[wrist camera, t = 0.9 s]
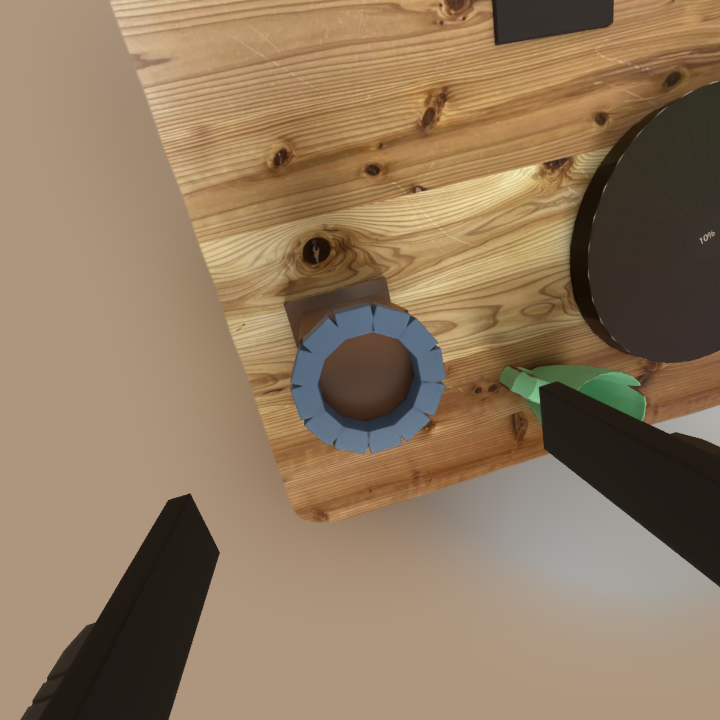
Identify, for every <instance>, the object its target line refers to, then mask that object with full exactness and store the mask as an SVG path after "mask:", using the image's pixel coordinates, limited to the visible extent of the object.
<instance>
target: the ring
mask: <svg viewBox="0 0 720 720" xmlns="http://www.w3.org/2000/svg"><path fill="white" fill-rule="evenodd" d="M333 315H334V318H335V321H334V320H333V319H332V318H331V317H330V316H329V315H328V314H326V315H325V316H324V317H323V318H322V319H321V320H320V321H319V322H318V323H317V324H316V325H315V326H314V327H313V328H312V329H311V330H310V331H309V332H308V333H307V334H306V335H305V336H304V337H303V342H302V344H299V348H298V351H297V355H296V359H295V363H294V367H293V371H292V376H291V383H292V384H291V393H292V396H293V399H294V402H295V405H296V408H297V411H298V414H299V417H300V420H304V426H305V427H306V428H308V429H309V430H310V431H311V432H312V433H314V434H315V435H316V436H317V437H318V438H320V439H321V440H322V441H323V442H324V443H326V444H327V445H328V446H329V445H330V444H331V443H332V442H333V444H334V448H335V449H341V450H346V451H351V452H357V453H362V454H365V453H366V450H367V447H368V446H369V449H370V452H371V453H375V452H379V451H382V450H385V449H389V448H392V447H396V446H399V445H402V442H401V437H400V435H401V436H402V437H403V438H404V439H405V440H406V441H408V440H409V439H411V438H412V437H413V436H414V435H415V434H416V433H417V432H418V431H419V430H420V429H421V428H423V427H424V426H425V425H426V424H427V423H428V422H429V421H430V418H429V417H428V415H427V414H432V415H435V412H436V409H437V407H438V404H439V401H440V398H441V396H442V393H443V390H444V388H445V385H444V384H443V383H442V382H441V381H442V380H445V379H446V377H445V371H444V365H443V359H442V353H441V348H440V347H438V346H436V344H437V343H438V342H437V341H436V340H435V338H434V337H433V336H432V335H431V334H430V333H429V332H428V331H427V330H426V328H425V327H424V326H423V325H422V324H421V323H420V322H419V321H418V319H417V318H415V317H413V316H411V315H410V314H408V313H406V312H404V311H402V310H398V309H395V308H391V307H388V306H384V305H381V304H377V303H374V302H373V303H372V304H371V306H370V305H369V304H368V303H366V302H364V303H360V304H356V305H352V306H349V307H345V308H341V309H337V310H334V311H333ZM372 332H373V333H377V334H381V335H385V336H388V337H392V338H396V339H398V340H399V341H400V342H401V344H402V345H403V346H404V347H405V348H406V349H407V350H408V351H409V352H410V357H411V362H412V367H413V372H414V377H413V380H412V383H411V386H410V389H409V392H408V395H407V397H406V399H405V400H404V401H403V402H402V403H401V404H399V405H398V406H397V407H396V408H395V409H394V410H393V411H392V412H391V413H390V414H388V415H385V416H382V417H378V418H375V419H371V420H368V421H362V420H357V419H352V418H347V417H342V416H341V415H340V414H339V413H337V412H336V411H335V410H334V409H333V408H332V407H331V406H330V405H328V404H327V403H326V402H325V401H324V399H323V396H322V392H321V389H320V386H319V379H320V375H321V371H322V368H323V364H324V360H325V359H326V358H327V357H328V356H329V355H330V354H331V353H332V352H333V351H334V350H335V349H336V348H337V347H338V346H339V345H340V344H341V343H342V342H343V341H344V340H346V339H349V338H353V337H357V336H360V335H364V334H368V333H372ZM426 413H427V414H426Z"/></svg>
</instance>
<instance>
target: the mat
mask: <svg viewBox="0 0 720 720" xmlns="http://www.w3.org/2000/svg"><path fill="white" fill-rule="evenodd" d="M613 5H614V0H493V13H494V28H495V44H496V45H499V44H505V43H511V42H517V41H523V40H529V39H535V38H541V37H547V36H554V35H560V34H566V33H572V32H578V31H584V30H590V29H596V28H602V27H608V26H609V25H611V24H612V23H613Z"/></svg>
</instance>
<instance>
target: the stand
mask: <svg viewBox="0 0 720 720" xmlns="http://www.w3.org/2000/svg"><path fill="white" fill-rule="evenodd" d="M364 302H366V303H368V304H369V305H370V306H371V304H372V303H373V302H374V303H377V304H381V305H384V306H388V307H391V308H395V309H398V310H402V311H404V312H406V313H408V310H406V309H404V308H402V307H400V306H398V305H396V304H394V303H391V302H390V297H389V292H388V287H387V282H386V278H385V277H379V278H375V279H371V280H367V281H363V282H360V283H356V284H352V285H348V286H344V287H340V288H336V289H332V290H328V291H325V292H321V293H317V294H313V295H309V296H305V297H301V298H297V299H294V300H290V301H286V302H284V306H285V309H286V312H287V316H288V319H289V322H290V325H291V329H292V332H293V335H294V338H295V341H296V345H297V348H299V344H302V342H303V337H304V336H305V335H306V334H307V333H308V332H309V331H310V330H311V329H312V328H313V327H314V326H315V325H316V324H317V323H318V322H319V321H320V320H321V319H322V318H323V317H324V316H325V315H326V314H328V315H329V316H330V317H331V318H332V319H333V320H334V321H335V318H334V315H333V311H334V310H337V309H341V308H345V307H349V306H352V305H356V304H360V303H364ZM413 377H414V372H413V367H412V362H411V357H410V352H409V351H408V350H407V349H406V348H405V347H404V346H403V345H402V344H401V342H400V341H399V340H398V339H396V338H392V337H388V336H385V335H381V334H377V333H373V332H372V333H368V334H364V335H360V336H357V337H353V338H349V339H346V340H344V341H343V342H342V343H341V344H340V345H339V346H338V347H337V348H336V349H335V350H334V351H333V352H332V353H331V354H330V355H329V356H328V357H327V358H326V359H325V360H324V364H323V368H322V371H321V375H320V379H319V386H320V389H321V392H322V396H323V399H324V401H325V402H326V403H327V404H328V405H330V406H331V407H332V408H333V409H334V410H335V411H336V412H337V413H339V414H340V415H341V416H342V417H347V418H352V419H357V420H362V421H368V420H371V419H375V418H378V417H382V416H385V415H388V414H390V413H391V412H392V411H393V410H394V409H395V408H396V407H397V406H398V405H399V404H401V403H402V402H403V401H404V400H405V399H406V397H407V395H408V392H409V389H410V386H411V383H412V380H413Z"/></svg>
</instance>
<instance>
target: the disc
mask: <svg viewBox="0 0 720 720" xmlns="http://www.w3.org/2000/svg"><path fill="white" fill-rule="evenodd" d="M571 277H572V283H573V288H574V294H575V298H576V300H577V303H578V305H579V308H580V310H581V313H582V315H583V317H584V319H585V320H586V322H587V323H588V324H589V326H590V327H591V329H592V330H593V332H594V333H595V334H596V335H597V336H599V337H600V338H601V339H602V340H603V341H604V342H606V343H607V344H608V345H609V346H611V347H614V348H616V349H618V350H620V351H622V352H624V353H627V354H630V355H634V356H638V357H641V358H643V359H646V360H651V361H656V362H661V363H677V362H687V361H691V360H695V359H699V358H703V357H706V356H708V355H710V354H712V353H714V352H717V351H719V350H720V81H717V82H712V83H710V84H708V85H705V86H703V87H701V88H698V89H696V90H694V91H691V92H689V93H687V94H685V95H684V96H682V97H681V98H679V99H677V100H675V101H672V102H670V103H667V104H665V105H663V106H660V107H659V108H657V109H656V110H655V111H653V112H652V113H650V114H649V115H647V116H646V117H644V118H643V119H641V120H640V121H638V122H637V123H636V124H635V125H634V126H633V127H632V128H631V129H630V130H629V131H628V132H627V133H626V134H625V135H624V136H623V137H622V138H621V139H620V140H619V141H618V142H617V143H616V144H615V146H614V147H613V148H612V150H611V151H610V152H609V154H608V155H607V156H606V158H605V159H604V161H603V162H602V163H601V165H600V166H599V168H598V170H597V171H596V173H595V175H594V177H593V179H592V181H591V183H590V185H589V187H588V189H587V191H586V193H585V195H584V198H583V201H582V204H581V207H580V210H579V213H578V216H577V219H576V222H575V228H574V234H573V240H572V245H571Z"/></svg>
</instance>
